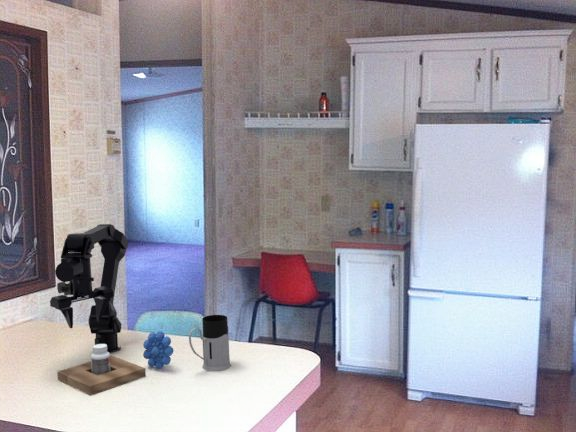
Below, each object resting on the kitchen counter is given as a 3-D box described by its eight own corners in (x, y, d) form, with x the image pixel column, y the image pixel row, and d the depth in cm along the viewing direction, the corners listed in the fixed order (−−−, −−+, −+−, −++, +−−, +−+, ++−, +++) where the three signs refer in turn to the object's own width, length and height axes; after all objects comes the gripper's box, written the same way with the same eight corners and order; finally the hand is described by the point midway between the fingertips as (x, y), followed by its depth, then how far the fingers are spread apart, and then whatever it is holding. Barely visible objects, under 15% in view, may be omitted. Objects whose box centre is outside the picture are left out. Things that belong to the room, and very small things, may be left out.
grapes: (183, 367, 199) (181, 329, 197) (168, 375, 193) (166, 335, 191) (154, 361, 205) (152, 324, 203) (139, 368, 199) (136, 330, 198)
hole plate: (111, 363, 205) (111, 355, 204) (145, 376, 192) (145, 368, 192) (57, 379, 191) (57, 371, 191) (90, 395, 179) (90, 386, 179)
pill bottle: (113, 378, 191) (111, 346, 190) (95, 383, 188) (93, 350, 187) (108, 373, 196) (106, 341, 194) (90, 377, 193) (87, 345, 192)
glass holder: (237, 365, 199) (235, 317, 198) (200, 379, 189) (198, 328, 187) (218, 359, 205) (216, 312, 204) (181, 372, 195) (179, 323, 193)
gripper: (94, 266, 212) (97, 313, 213) (39, 276, 198) (43, 327, 200) (113, 270, 204) (116, 319, 206) (57, 281, 190) (61, 333, 192)
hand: (84, 324), depth 201 cm, fingers open, 9 cm apart
